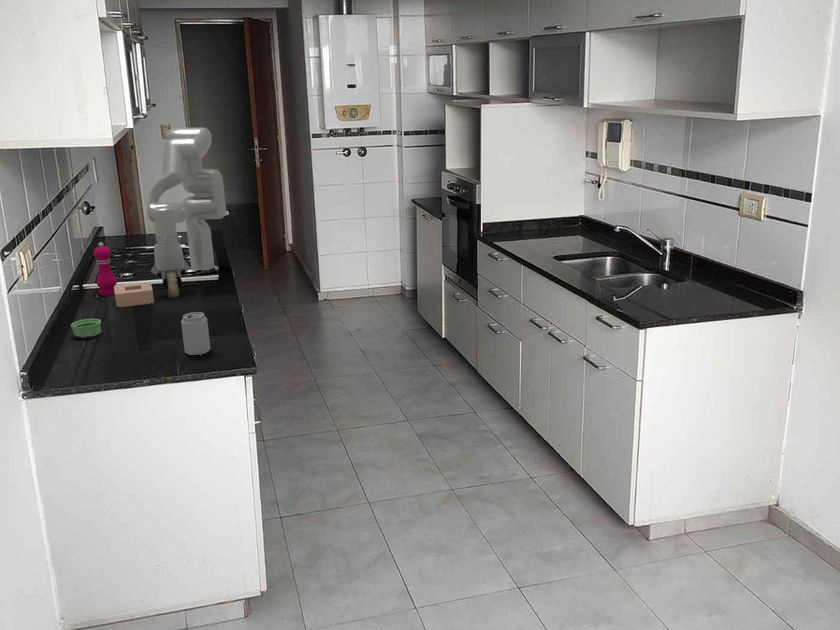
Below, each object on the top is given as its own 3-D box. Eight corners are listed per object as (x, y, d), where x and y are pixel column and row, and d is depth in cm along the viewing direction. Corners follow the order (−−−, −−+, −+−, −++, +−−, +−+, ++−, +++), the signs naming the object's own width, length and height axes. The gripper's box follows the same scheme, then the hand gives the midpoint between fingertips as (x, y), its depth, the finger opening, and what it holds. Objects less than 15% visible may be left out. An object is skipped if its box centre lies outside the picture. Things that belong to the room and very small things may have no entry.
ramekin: (108, 331, 263) (106, 319, 262) (92, 340, 255) (90, 327, 254) (83, 330, 265) (81, 318, 264) (67, 339, 257) (65, 326, 255)
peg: (168, 295, 303) (164, 269, 300) (179, 294, 305) (175, 268, 302) (168, 298, 300) (165, 272, 297) (180, 296, 301) (176, 270, 298)
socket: (115, 298, 301) (113, 285, 300) (152, 294, 306) (150, 281, 304) (116, 307, 289) (114, 294, 288) (154, 303, 294) (152, 290, 292)
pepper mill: (115, 289, 314) (108, 239, 308) (120, 293, 308) (112, 242, 302) (96, 293, 310) (88, 242, 304) (100, 297, 304) (92, 245, 298)
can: (190, 348, 245) (186, 310, 241) (214, 348, 244) (210, 310, 241) (181, 356, 238) (176, 318, 234) (205, 357, 237) (201, 318, 233)
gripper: (189, 236, 302) (194, 283, 308) (142, 240, 296) (149, 288, 302) (191, 239, 295) (197, 287, 301) (143, 244, 290) (150, 293, 295)
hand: (172, 287), depth 301 cm, fingers closed on peg, 4 cm apart
